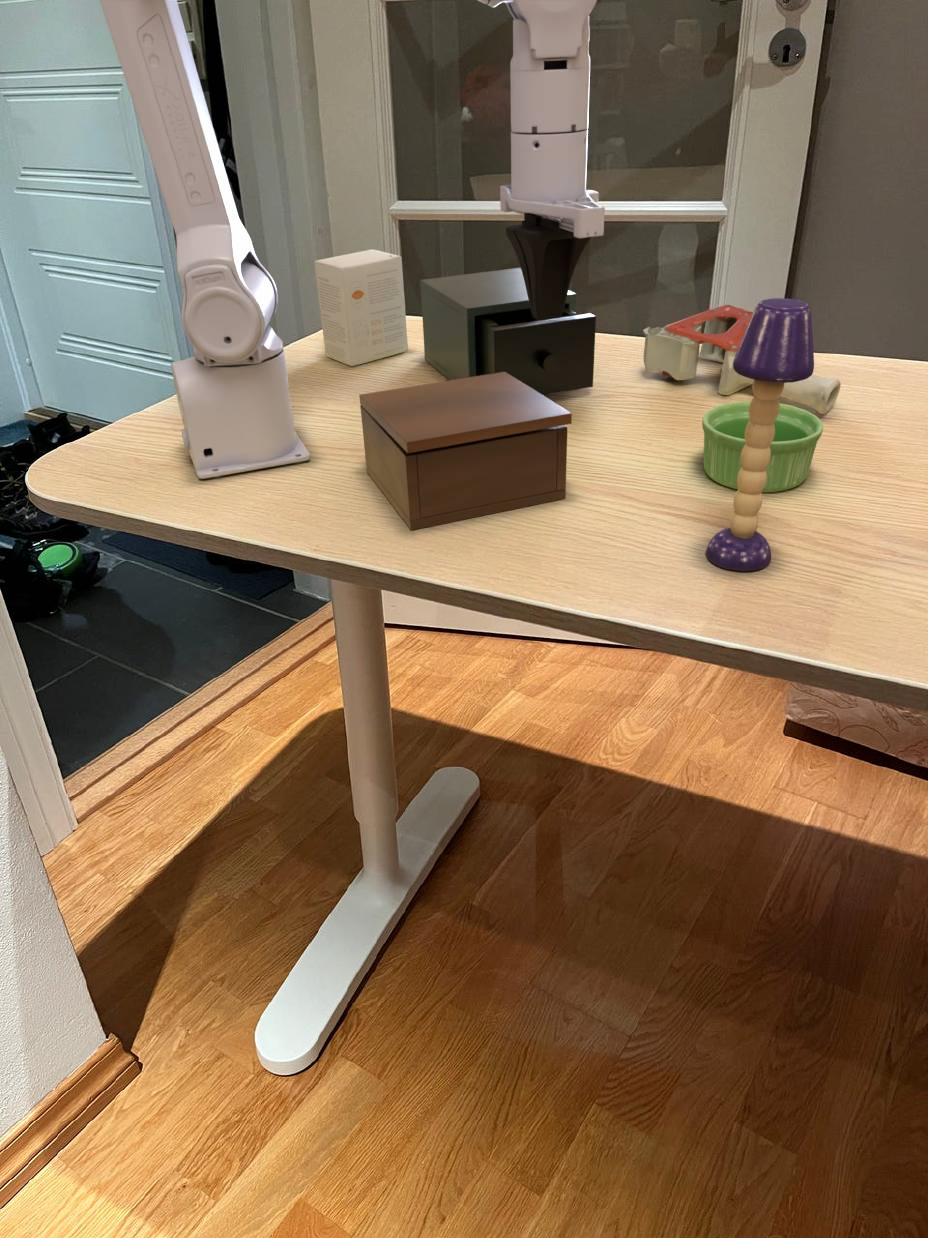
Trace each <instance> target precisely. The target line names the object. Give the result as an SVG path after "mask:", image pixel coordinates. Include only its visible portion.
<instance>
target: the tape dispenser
mask: <svg viewBox="0 0 928 1238" xmlns="http://www.w3.org/2000/svg"><path fill="white" fill-rule="evenodd" d="M753 312H754V311H749V310H746V309H743V308H740V307H736V306H734V305H731V304H725V305H721V306H717V307H713V308H712V307H711V308H708V309H707V310H705V311H703V312H699V313H697V314H693V315H691V316H688V317H687V318H683V319H682V320H678V321H674V322H672V323H670V324H667V325H665V326H663V327H659V326H656V327H653V328H651V327H650V326H648V327H646V328H644V329H643V333H644V334H645V337H644V347H643V364H644V370H645V371H646V372H655V371H661V376H663V377H666V376H668V377H670V378H672V379H673V380H675V381H687V380H692V379H694V378H695V377H696V373H697V368H698V361H699V356H700V358H703V359H705V360H711V361H714V362H718V363H722V368H721V372H720V373H721V375H720V380H719V385H718V390H717V392H718V394H719V395H722V396H731V395H733V394H734V393H737V392H740V391H741V390H743V389H745V388H747V387H749V386H751V385H753V381H754V379H750V378H747V377H744V376H742V375H739V374H738V373H737V372H735V370H734V369H733V361H734V358H735V355H736V353H737V350H738V348H739V345H740V343H741V340H742V338H743V336H744V333H745V331H746V329H747V326H748V324H749V322H750V319H751V317H752V315H753ZM704 323H705V326H704V330H703V333H702V327H703V326H702V325H703V324H704ZM700 346H701V347H700ZM841 384H842V383H841V380H839V379H838V378H827V377H822V376H819V375H817V374H814V373H812V375H811V376H810V377H809V378H807V379H805V380H801V381H797V382H792V383H790V382H788V383H784V388H783V391H782V394H781V395H780V396H779V397H783V398H786V399H788V400H791V401H793V402H796V403H800V404H803V405H805V406H808V407H810V408H811V409H814V410H815V411H817V413H819V414H820V415H825V414H826V413H827V412H828V411H829V410H830V409H832V408H833V406H834V405H835V403H836V401H837V399H838V397H839V393H840V390H841Z"/></svg>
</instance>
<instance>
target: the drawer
mask: <svg viewBox="0 0 928 1238" xmlns="http://www.w3.org/2000/svg"><path fill="white" fill-rule="evenodd" d="M474 317H475V350H476V376H481V375H487V374H494V373H500V372H506V373H508V374H509V375H511V376H513V377H514V378H516V379H517V380H519V381H521V382H522V383H524V384H525V385H527V386H529V387H530V388H532V389H533V390H535V391H537V392H538V393H540V394H542V395H543V396H547V395H553V394H559V393H564V392H570V391H578V390H581V389H588V388H593V387H594V374H595V373H594V372H595V371H594V370H595V369H594V368H595V350H596V349H595V347H596V324H597V323H596V322H597V316H596V315H594V314H592V313H584V314H578V313H577V312H576V313H575V312H573V311H571V310H569V309H567V308H565V307H564V309H563V313H562V316H561V318H556V319H549V320H542V321H539V320H537V319H535V318H533V316H532V313H531V309H530V308H529V309H522V310H515V311H508V312H500V313H493V314H486V315H479V316H474Z"/></svg>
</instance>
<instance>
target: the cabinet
mask: <svg viewBox="0 0 928 1238" xmlns="http://www.w3.org/2000/svg"><path fill="white" fill-rule="evenodd" d="M419 283H420V301H421V315H422V317H421V318H422V332H423V333H422V334H423V351H424V361H425V362H426V363H428V364H429V366H431V367H432V368H434V369H435V370H436V371H437V372H439V373H440V374H441V375H442V376H443V377H444V378H446V379H447V381H449V380H456V379H462V378H468V377H475V376H476V350H475V317H474V316H479V315H486V314H493V313H500V312H508V311H515V310H522V309H529V308H530V305H529V300H528V295H527V291H526V286H525V281H524V277H523V273H522V270H521V267H514V268H507V269H499V270H491V271H481V272H475V273H474V272H473V273H465V274H457V275H449V276H442V277H434V278H425V279H420V281H419ZM564 307H565V308H567V309H569V310H571V311H573V312H575V313H577V293H575V292H574V291H572V290H568V294H567V298H566V302H565V306H564Z"/></svg>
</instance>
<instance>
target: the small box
mask: <svg viewBox="0 0 928 1238" xmlns="http://www.w3.org/2000/svg"><path fill="white" fill-rule="evenodd" d="M402 261H403V260H402V256H401V255H397V254H394V253H389V252H386V251H382V250H378V249H372V248H371V249H367V250H362V251H357V252H352V253H347V254H342V255H337V256H332V257H327V258H322V259H318V260H314V270H315V272H314V273H315V278H316V286H317V295H318V304H319V311H320V321H321V328H322V336H323V343H324V351H325V352H324V353H325V356H326V357H327V358H329V359H332V360H335V361H337V362H340V363H342V364H345V365H347V366H350V367H355V366H359V365H363V364H366V363H370V362H373V361H377V360H380V359H384V358H389V357H392V356H395V355H398V354H402V353H405V352H408V351H409V344H408V343H409V342H408V329H407V317H406V316H407V314H406V302H405V301H406V300H405V289H404V273H403V262H402Z"/></svg>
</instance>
